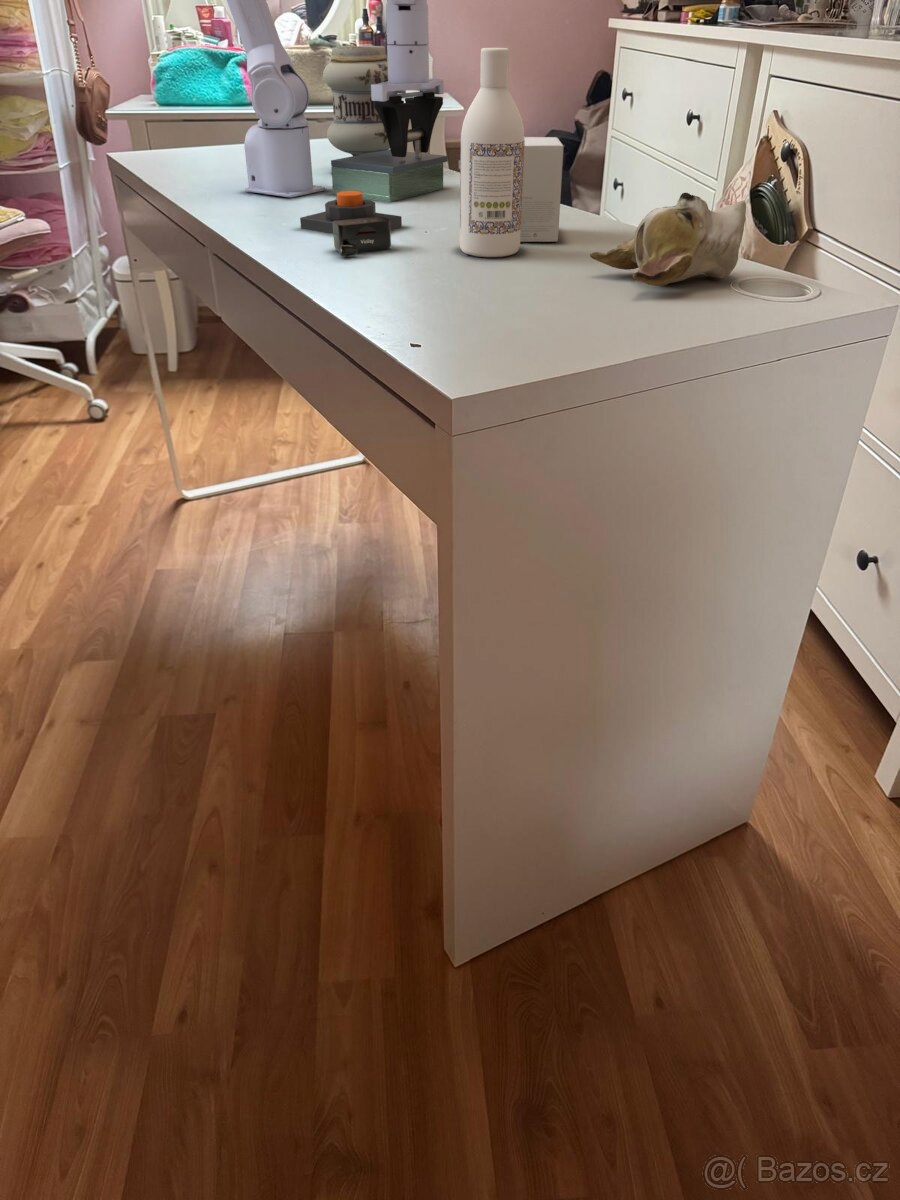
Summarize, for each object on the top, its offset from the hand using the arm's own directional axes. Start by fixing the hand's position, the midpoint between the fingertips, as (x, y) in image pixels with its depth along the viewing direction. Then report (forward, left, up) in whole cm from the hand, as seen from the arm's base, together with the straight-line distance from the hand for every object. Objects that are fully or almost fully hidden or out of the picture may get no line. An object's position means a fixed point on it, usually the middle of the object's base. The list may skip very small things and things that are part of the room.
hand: (410, 154), depth 130 cm
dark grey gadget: (+17, -33, -6) cm, 38 cm away
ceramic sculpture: (+51, -24, -6) cm, 57 cm away
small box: (+29, -14, -6) cm, 33 cm away
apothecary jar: (-19, +13, -6) cm, 24 cm away
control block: (+8, -23, -5) cm, 25 cm away
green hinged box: (-4, 0, -5) cm, 7 cm away
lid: (-4, 0, -2) cm, 4 cm away
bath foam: (+29, -24, -6) cm, 38 cm away
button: (+8, -24, -3) cm, 25 cm away
